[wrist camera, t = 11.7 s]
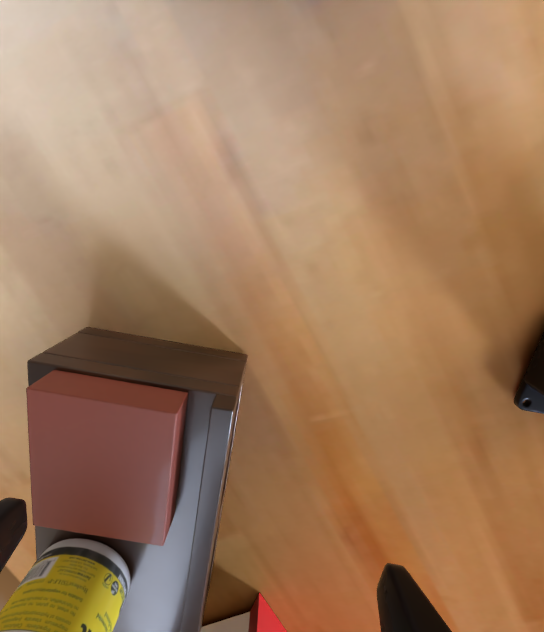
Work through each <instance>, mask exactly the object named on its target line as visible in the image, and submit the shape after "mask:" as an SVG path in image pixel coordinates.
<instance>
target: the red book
mask: <svg viewBox="0 0 544 632" xmlns="http://www.w3.org/2000/svg"><path fill="white" fill-rule="evenodd" d="M26 392H27V413H28V433H29V453H30V474H31V494H32V514H33V525H35V526H41V527H47V528H53V529H59V530H65V531H72V532H78V533H84V534H90V535H96V536H102V537H109V538H115V539H121V540H127V541H133V542H140V543H146V544H152V545H158V546H163V545H164V543H165V540H166V537H167V535H168V532H169V529H170V526H171V524H172V521H173V518H174V515H175V506H176V498H177V489H178V480H179V471H180V462H181V453H182V444H183V435H184V426H185V417H186V409H187V400H188V393H187V392H182V391H176V390H170V389H164V388H159V387H153V386H147V385H141V384H135V383H129V382H124V381H118V380H112V379H106V378H100V377H94V376H88V375H83V374H77V373H71V372H65V371H59V370H53V371H51V372H50V373H48V374H47V375H45V376H44V377H42V378H41V379H39V380H38V381H36V382H35V383H33V384H32V385H30V386H29V387H27V389H26Z"/></svg>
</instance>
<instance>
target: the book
mask: <svg viewBox="0 0 544 632" xmlns="http://www.w3.org/2000/svg"><path fill="white" fill-rule="evenodd" d="M200 632H287V631H286V630H285V628H284V627H283V625H282V624H281V622H280V621H279V620H278V618H277V617H276V615H275V614H274V612H273V611H272V610H271V608H270V607H269V605H268V604H267V602H266V601H265V599H264V598H263V597H262V595H261V594H260V592H259V594H258V596H257V598H256V600H255V602H254V605H253V607H252V609H251V611H250V612H247V613H244V614H241V615H238V616H235V617H231V618H228V619H225V620H222V621H219V622H216V623H213V624H209V625H206V626H203V627H201V631H200Z"/></svg>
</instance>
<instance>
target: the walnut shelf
mask: <svg viewBox="0 0 544 632" xmlns="http://www.w3.org/2000/svg"><path fill="white" fill-rule="evenodd" d="M247 357H248V355H246V354H240V353H234V352H229V351H223V350H217V349H211V348H206V347H200V346H194V345H188V344H183V343H177V342H171V341H165V340H160V339H154V338H148V337H142V336H137V335H131V334H125V333H119V332H114V331H108V330H102V329H96V328H91V327H86V328H85V329H83V330H81V331H79V332H78V333H76V334H74V335H72V336H71V337H69V338H67V339H65V340H63V341H62V342H60V343H58V344H56V345H55V346H53V347H51V348H49V349H47V350H46V351H44V352H43V353H40V354H39V355H37V356H35V357H33V358H32V359H30V360H28V362H27V363H28V384H29V386H30V385H32V384H33V383H35V382H36V381H38V380H39V379H41V378H42V377H44V376H45V375H47V374H48V373H50V372H51V371H53V370H59V371H65V372H71V373H77V374H83V375H88V376H94V377H100V378H106V379H112V380H118V381H124V382H129V383H135V384H141V385H147V386H153V387H159V388H164V389H170V390H176V391H182V392H187V393H188V400H187V409H186V417H185V426H184V435H183V444H182V453H181V462H180V471H179V480H178V489H177V498H176V506H175V515H174V518H173V521H172V524H171V526H170V529H169V532H168V535H167V537H166V540H165V543H164V545H163V546H158V545H152V544H146V543H140V542H133V541H127V540H121V539H115V538H109V537H102V536H96V535H90V534H84V533H78V532H72V531H65V530H59V529H53V528H47V527H41V526H35V534H36V555H37V560H38V558H39V557H40V556H41V555H42V553H43V552H44V551H45V550H46V549H48V548H49V547H50V546H52V545H53V544H55V543H57V542H60V541H62V540H66V539H75V538H79V539H89V540H93V541H97V542H100V543H103V544H105V545H107V546H109V547H110V548H112V549H113V550H115V551H116V552H117V553H118V554H119V555H120V556H121V557H122V558H123V560H124V561H125V563H126V565H127V566H128V569H129V572H130V588H129V591H128V594H127V597H126V599H125V602H124V604H123V607H122V609H121V612H120V614H119V617H118V619H117V621H116V624H115V626H114V629H113V631H112V632H200V631H201V626H202V621H203V616H204V611H205V606H206V601H207V596H208V591H209V586H210V581H211V574H212V568H213V562H214V556H215V550H216V544H217V538H218V532H219V526H220V520H221V514H222V508H223V502H224V496H225V490H226V484H227V478H228V472H229V466H230V460H231V454H232V448H233V442H234V436H235V430H236V423H237V417H238V411H239V405H240V399H241V393H242V387H243V381H244V375H245V369H246V363H247Z"/></svg>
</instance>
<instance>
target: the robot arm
mask: <svg viewBox="0 0 544 632" xmlns="http://www.w3.org/2000/svg"><path fill="white" fill-rule="evenodd" d="M524 400H526V401H525V402H524V403H523V401H524ZM514 404H515V405H516V406H517V407H519V408H520V409H522V410H525V411H531V412H537V413H542V414H544V332H543V335H542V337H541V339H540V341H539V344H538V346H537V348H536V350H535V353H534V355H533V357H532V360H531V362H530V364H529V366H528V369H527V371H526V373H525V375H524V378H523V380H522V382H521V384H520V387H519V389H518V391H517V394H516V396H515V398H514ZM26 529H27V512H26V502H25V501H24V500H22V499H16V498H5V499H3V500H1V501H0V572H1V571H2V569H3V568H4V566H5V564H6V563H7V561H8V560H9V558H10V556H11V555H12V553H13V552H14V550H15V549H16V547H17V545H18V544H19V542H20V541H21V539H22V537H23V536H24V534H25V531H26ZM377 601H378V610H379V618H380V626H381V632H452V631H451V630H450V629H449V627H448V626H447V625H446V623H445V622H444V620H443V619H442V618H441V616H440V615H439V614H438V612H437V611H436V609H435V608H434V607H433V605H432V604H431V603H430V601H429V600H428V598H427V597H426V596H425V594H424V593H423V592H422V590H421V589H420V588H419V586H418V585H417V583H416V582H415V581H414V579H413V578H412V577H411V575H410V574H409V572H408V571H407V570H406V569H405V568H404V567H403V566H401V565H397V564H391V563H387V564H386V565H385V567H384V569H383V572H382V575H381V578H380V580H379V583H378V586H377Z"/></svg>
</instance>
